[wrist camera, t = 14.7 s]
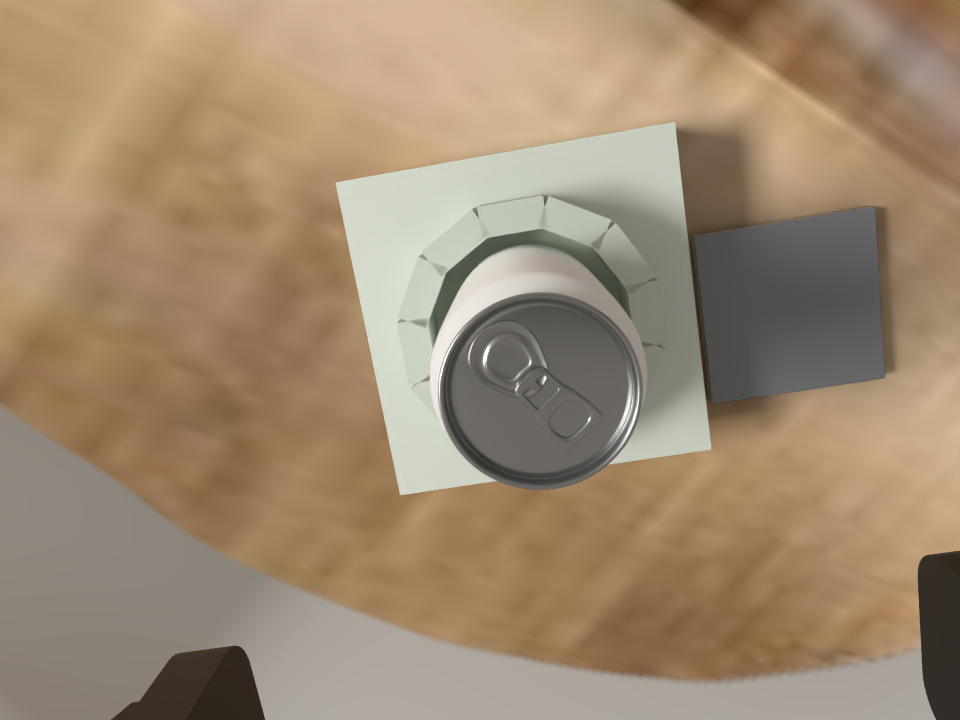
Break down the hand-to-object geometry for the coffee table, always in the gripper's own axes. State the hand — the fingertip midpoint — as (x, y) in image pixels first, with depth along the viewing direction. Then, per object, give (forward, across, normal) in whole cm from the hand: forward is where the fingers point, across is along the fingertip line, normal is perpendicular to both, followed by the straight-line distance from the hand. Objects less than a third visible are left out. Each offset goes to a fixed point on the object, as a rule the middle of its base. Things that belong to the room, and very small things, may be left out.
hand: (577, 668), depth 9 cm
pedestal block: (+28, 0, 0) cm, 28 cm away
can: (+24, 0, 0) cm, 24 cm away
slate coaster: (+28, -12, +2) cm, 31 cm away
